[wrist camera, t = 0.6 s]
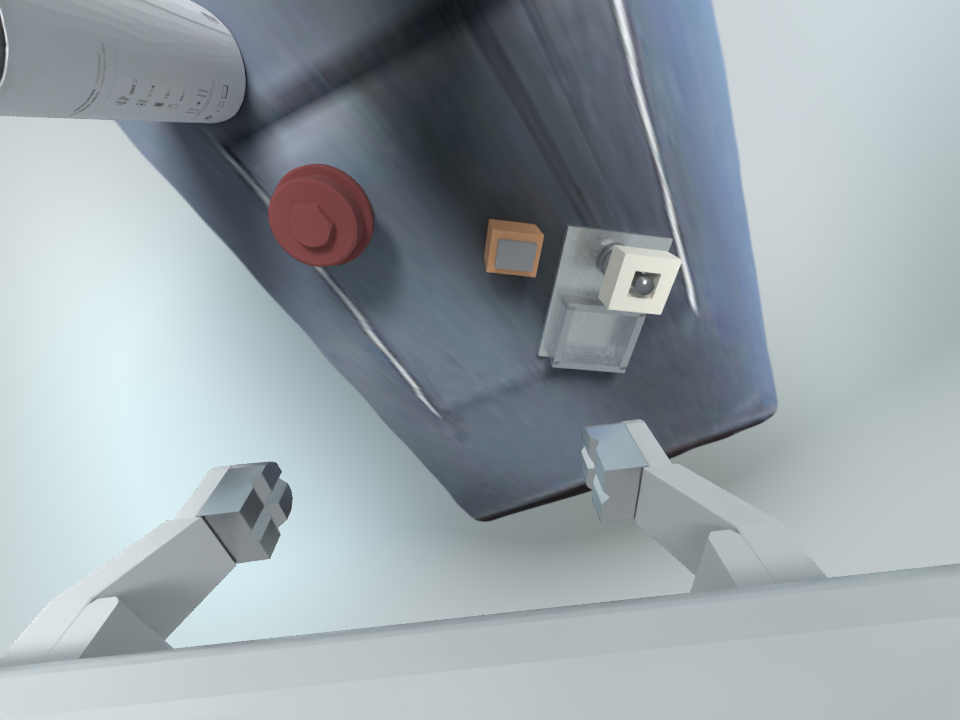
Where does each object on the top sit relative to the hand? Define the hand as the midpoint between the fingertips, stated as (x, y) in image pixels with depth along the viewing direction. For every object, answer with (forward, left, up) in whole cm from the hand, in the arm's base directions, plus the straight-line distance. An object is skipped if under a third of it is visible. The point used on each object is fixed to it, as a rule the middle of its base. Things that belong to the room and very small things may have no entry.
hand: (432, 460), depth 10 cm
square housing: (+5, +22, -36) cm, 42 cm away
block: (+4, +8, -44) cm, 44 cm away
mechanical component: (+2, -13, -44) cm, 46 cm away
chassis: (+11, +22, -43) cm, 50 cm away
